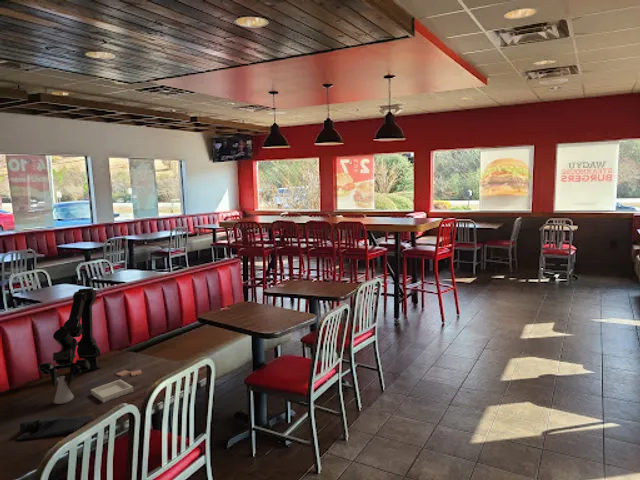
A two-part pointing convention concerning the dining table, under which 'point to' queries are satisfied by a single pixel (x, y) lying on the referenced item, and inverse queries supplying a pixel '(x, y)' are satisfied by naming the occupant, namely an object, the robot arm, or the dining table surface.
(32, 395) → the dining table surface
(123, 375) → the tile
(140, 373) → the tile
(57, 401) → the flask
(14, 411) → the dining table surface
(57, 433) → the black crumpled cloth
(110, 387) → the tray
